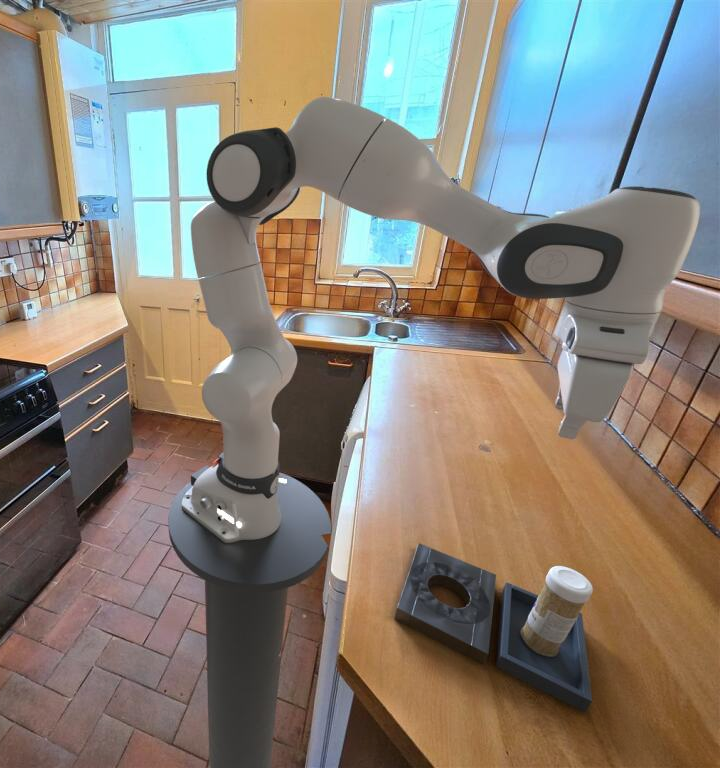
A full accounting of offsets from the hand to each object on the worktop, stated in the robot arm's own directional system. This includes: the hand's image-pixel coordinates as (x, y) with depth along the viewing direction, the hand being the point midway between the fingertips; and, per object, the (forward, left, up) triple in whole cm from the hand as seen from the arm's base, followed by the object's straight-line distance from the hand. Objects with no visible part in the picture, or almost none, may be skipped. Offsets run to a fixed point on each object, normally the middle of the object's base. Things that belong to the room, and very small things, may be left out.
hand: (563, 421), depth 58 cm
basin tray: (+5, -11, -31) cm, 33 cm away
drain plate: (-7, -11, -31) cm, 34 cm away
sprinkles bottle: (+5, -11, -31) cm, 33 cm away
